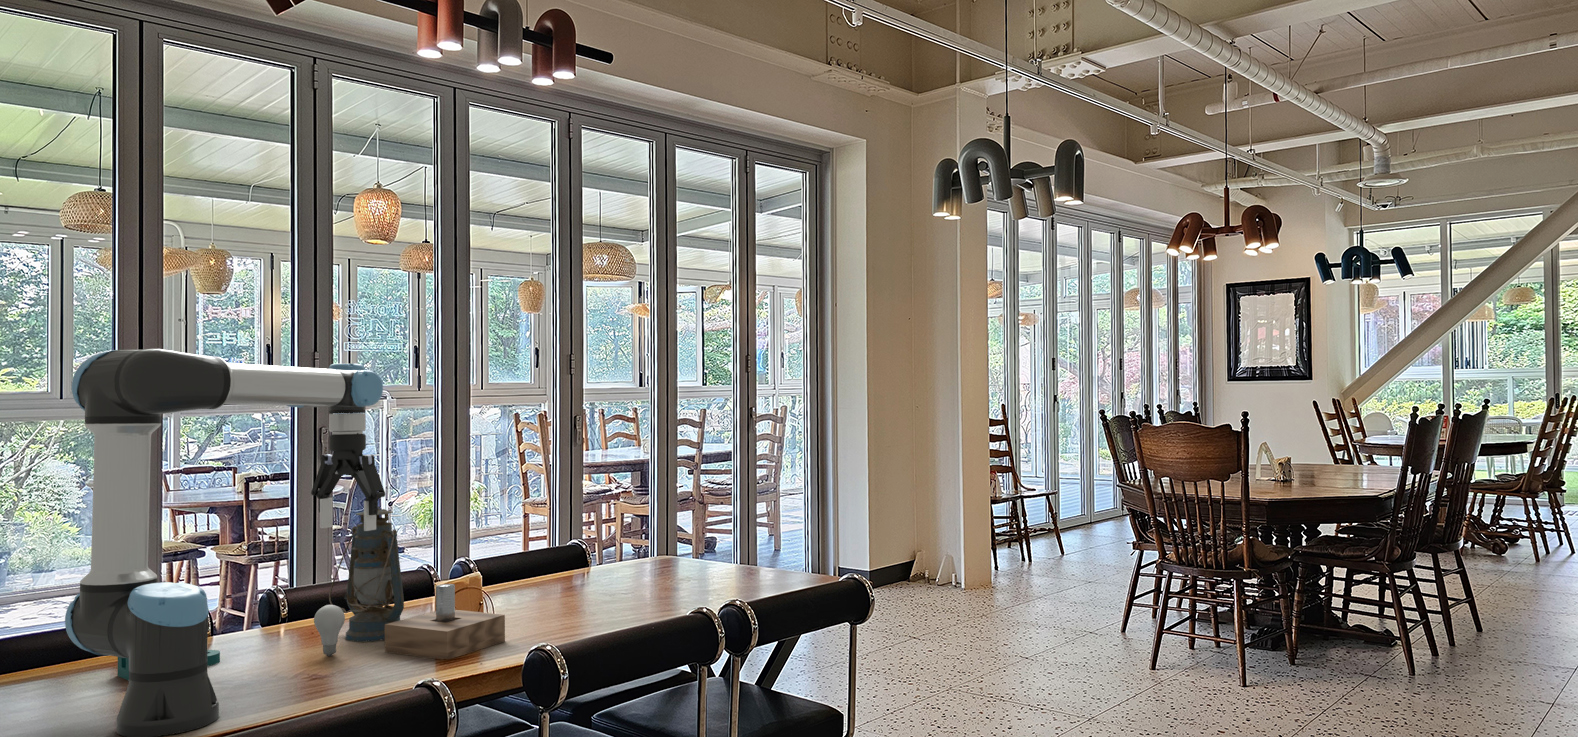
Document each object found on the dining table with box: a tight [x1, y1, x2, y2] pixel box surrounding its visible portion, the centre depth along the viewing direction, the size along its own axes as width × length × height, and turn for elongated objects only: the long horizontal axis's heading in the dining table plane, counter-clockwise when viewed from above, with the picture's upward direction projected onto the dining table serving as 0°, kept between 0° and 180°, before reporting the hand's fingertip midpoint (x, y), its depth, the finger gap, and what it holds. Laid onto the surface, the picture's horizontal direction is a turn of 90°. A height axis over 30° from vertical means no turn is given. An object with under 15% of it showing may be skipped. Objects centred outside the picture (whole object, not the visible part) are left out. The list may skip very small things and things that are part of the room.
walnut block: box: [384, 609, 506, 660], centre depth 232 cm, size 18×18×6 cm
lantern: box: [328, 506, 405, 643], centre depth 244 cm, size 19×14×30 cm
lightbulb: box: [313, 604, 346, 657], centre depth 225 cm, size 6×6×11 cm
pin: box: [435, 583, 456, 623], centre depth 232 cm, size 4×4×12 cm
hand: (347, 529), depth 230 cm, fingers open, 13 cm apart
